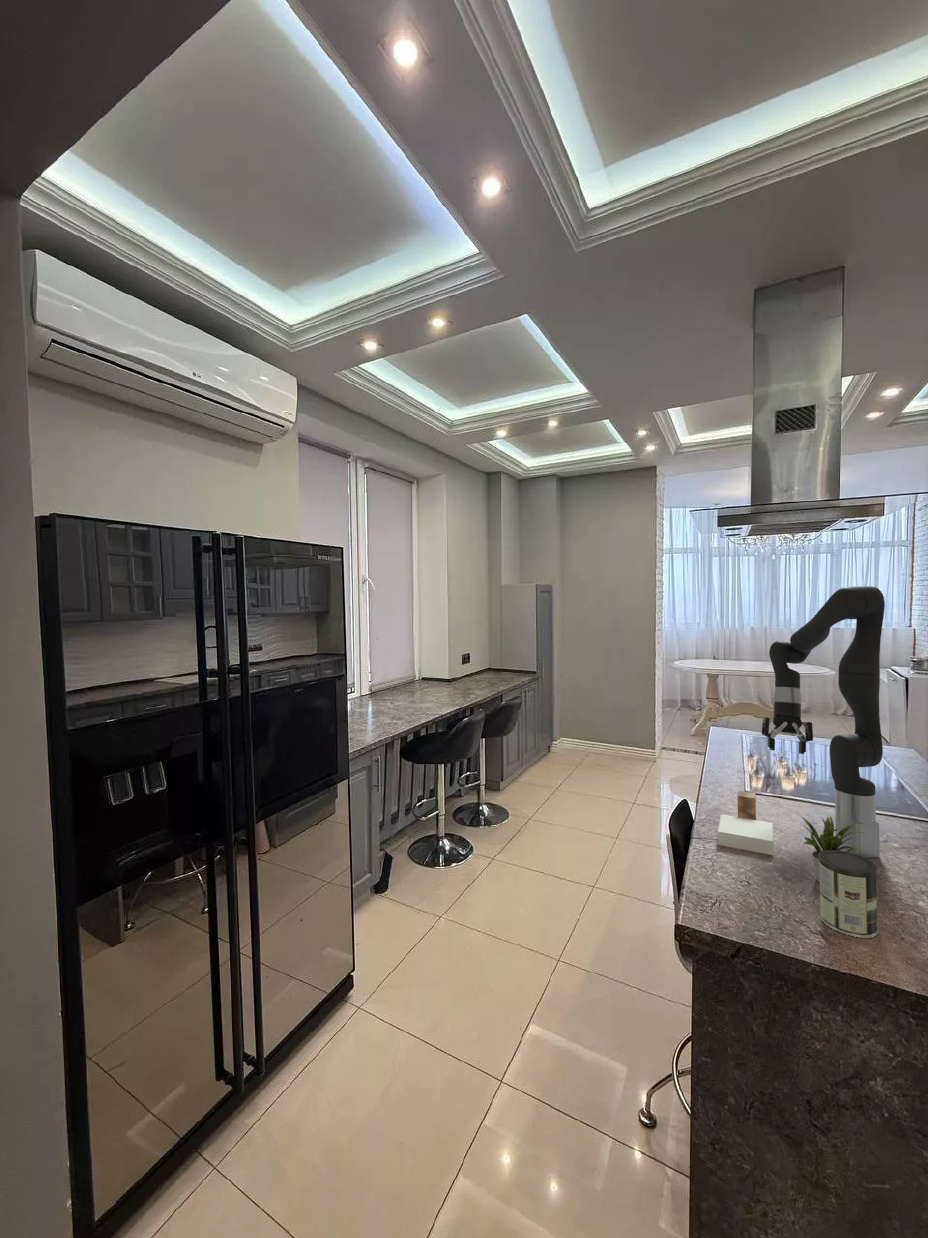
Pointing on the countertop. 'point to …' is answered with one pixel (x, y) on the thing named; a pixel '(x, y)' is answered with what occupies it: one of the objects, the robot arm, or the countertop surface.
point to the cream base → (746, 834)
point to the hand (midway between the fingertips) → (786, 752)
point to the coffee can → (848, 893)
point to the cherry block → (747, 805)
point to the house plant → (827, 840)
